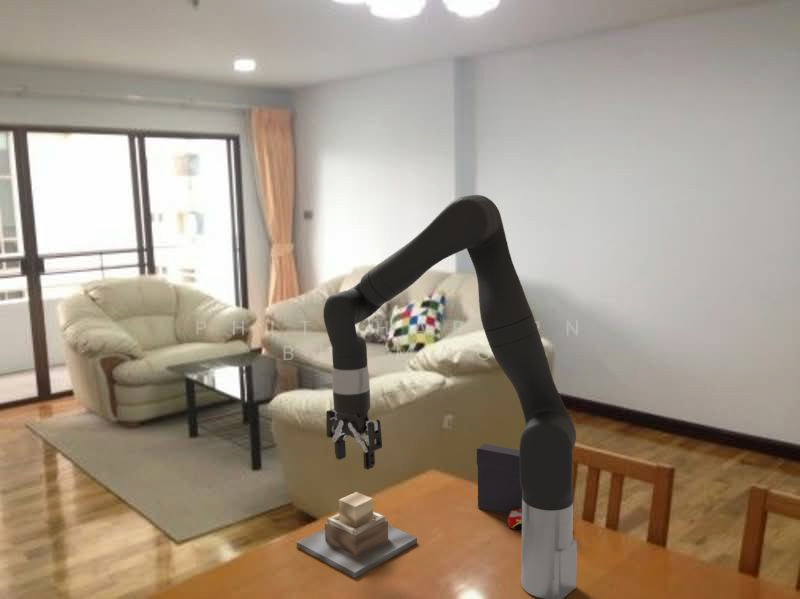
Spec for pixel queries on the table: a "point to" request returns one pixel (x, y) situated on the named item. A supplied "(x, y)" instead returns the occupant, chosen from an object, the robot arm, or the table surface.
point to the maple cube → (356, 510)
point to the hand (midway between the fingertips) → (354, 463)
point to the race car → (515, 519)
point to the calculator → (499, 479)
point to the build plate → (361, 559)
